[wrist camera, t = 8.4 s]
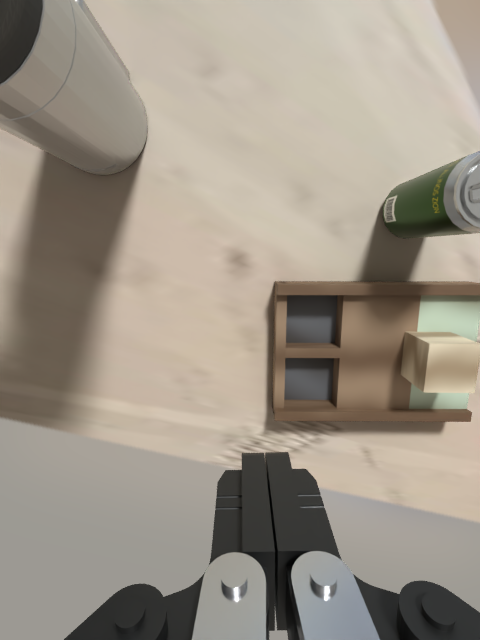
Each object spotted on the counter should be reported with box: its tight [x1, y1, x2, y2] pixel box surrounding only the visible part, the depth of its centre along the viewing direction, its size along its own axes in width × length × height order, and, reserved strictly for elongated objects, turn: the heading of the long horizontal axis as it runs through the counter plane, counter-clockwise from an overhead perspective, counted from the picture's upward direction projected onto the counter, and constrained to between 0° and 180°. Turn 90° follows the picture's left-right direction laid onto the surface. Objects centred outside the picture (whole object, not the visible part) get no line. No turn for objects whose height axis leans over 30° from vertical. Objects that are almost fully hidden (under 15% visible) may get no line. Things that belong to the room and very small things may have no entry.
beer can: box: [383, 151, 480, 239], centre depth 28 cm, size 5×5×12 cm
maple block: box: [401, 332, 480, 393], centre depth 32 cm, size 4×4×4 cm
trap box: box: [272, 282, 480, 422], centre depth 35 cm, size 14×20×3 cm
